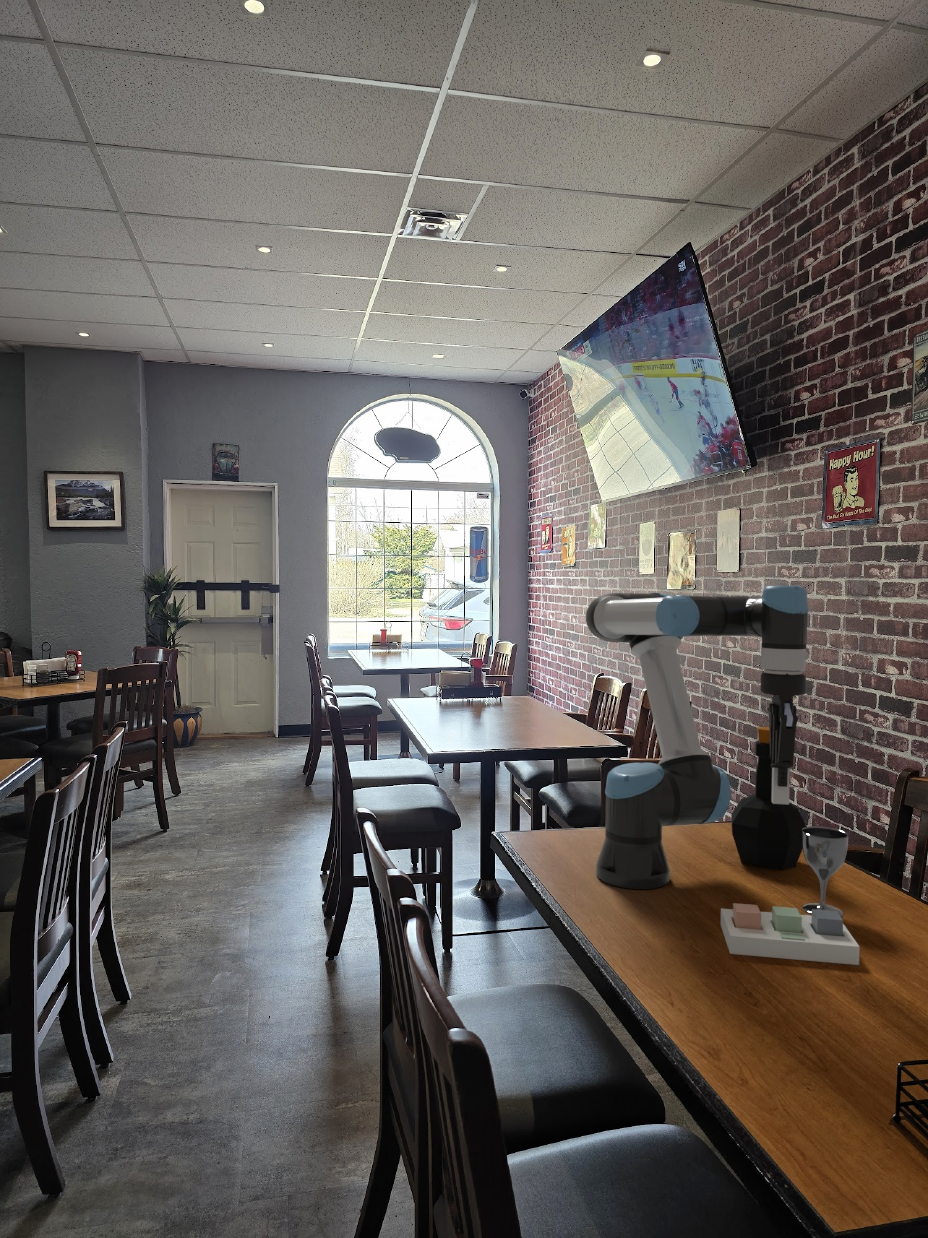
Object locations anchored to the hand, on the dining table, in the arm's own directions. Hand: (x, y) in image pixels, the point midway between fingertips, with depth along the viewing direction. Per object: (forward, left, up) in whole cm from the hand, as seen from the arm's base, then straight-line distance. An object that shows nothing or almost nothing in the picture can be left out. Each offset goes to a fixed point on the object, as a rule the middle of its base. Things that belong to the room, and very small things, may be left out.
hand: (780, 803), depth 146 cm
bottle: (+5, +37, -23) cm, 44 cm away
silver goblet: (+10, +9, -23) cm, 26 cm away
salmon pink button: (-7, -8, -20) cm, 22 cm away
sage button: (0, -8, -20) cm, 21 cm away
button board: (0, -8, -22) cm, 24 cm away
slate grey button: (+6, -8, -20) cm, 22 cm away
